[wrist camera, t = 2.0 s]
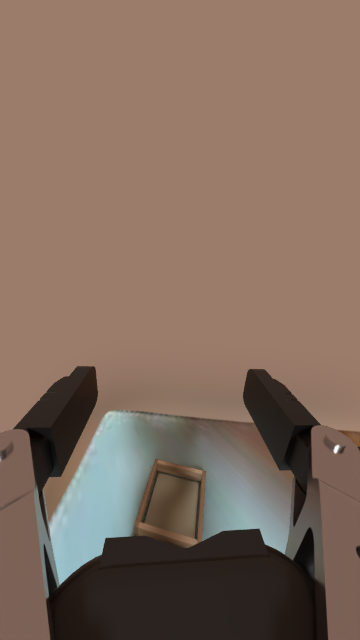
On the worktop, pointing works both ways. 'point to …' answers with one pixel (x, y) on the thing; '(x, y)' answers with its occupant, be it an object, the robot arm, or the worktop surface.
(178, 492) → the wooden organizer tray
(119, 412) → the worktop surface
